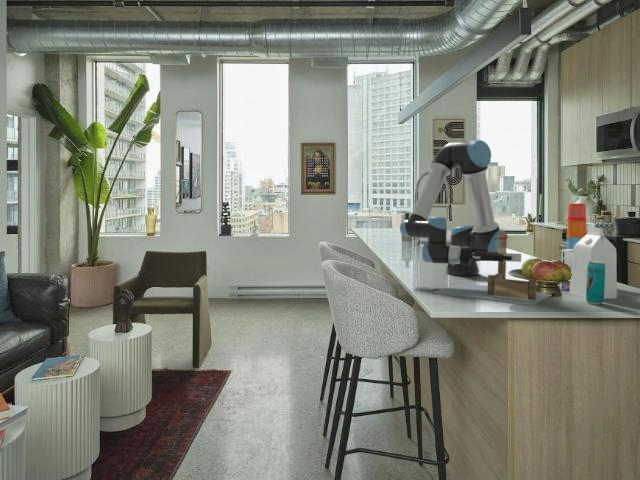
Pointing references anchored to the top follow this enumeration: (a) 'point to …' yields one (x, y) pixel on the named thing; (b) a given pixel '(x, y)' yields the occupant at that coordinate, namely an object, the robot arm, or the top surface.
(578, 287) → the milk
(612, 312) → the top surface
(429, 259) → the robot arm
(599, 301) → the beverage can
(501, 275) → the folding fence panel
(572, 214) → the stacking cups
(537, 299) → the card
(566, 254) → the candy box
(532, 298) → the fence fixed
